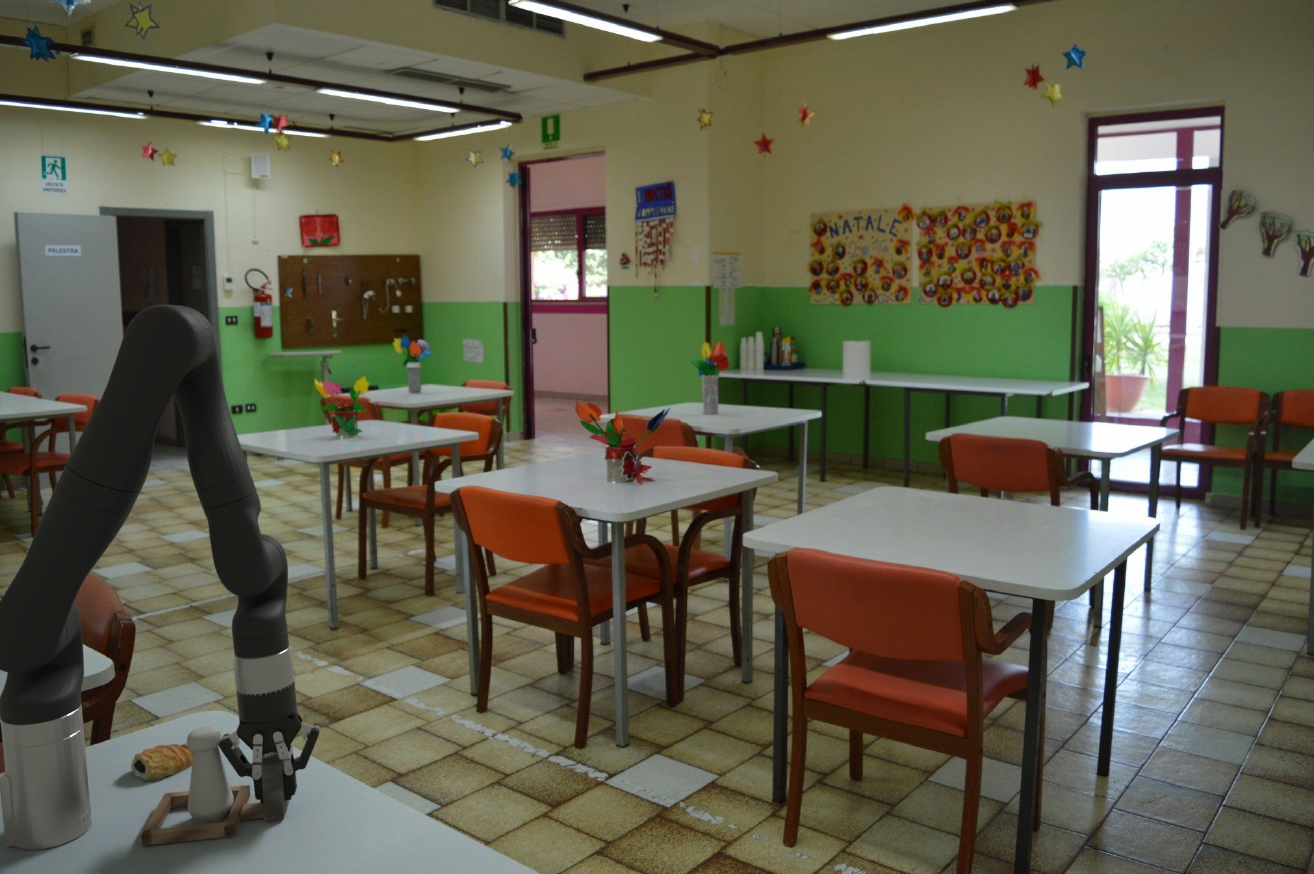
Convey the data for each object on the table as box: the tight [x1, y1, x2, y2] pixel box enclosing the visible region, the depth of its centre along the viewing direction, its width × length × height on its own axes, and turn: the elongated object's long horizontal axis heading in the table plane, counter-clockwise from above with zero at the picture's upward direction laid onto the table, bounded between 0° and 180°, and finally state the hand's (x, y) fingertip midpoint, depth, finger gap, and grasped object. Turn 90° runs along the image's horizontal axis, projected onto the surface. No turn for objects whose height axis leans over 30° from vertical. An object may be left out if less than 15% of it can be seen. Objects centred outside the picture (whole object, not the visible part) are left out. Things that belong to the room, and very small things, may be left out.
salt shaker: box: [186, 725, 235, 825], centre depth 137 cm, size 6×6×13 cm
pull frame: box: [140, 752, 290, 846], centre depth 138 cm, size 17×11×8 cm, turn 102°
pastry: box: [130, 743, 194, 781], centre depth 154 cm, size 9×7×4 cm
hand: (277, 798), depth 140 cm, fingers closed on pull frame, 2 cm apart
